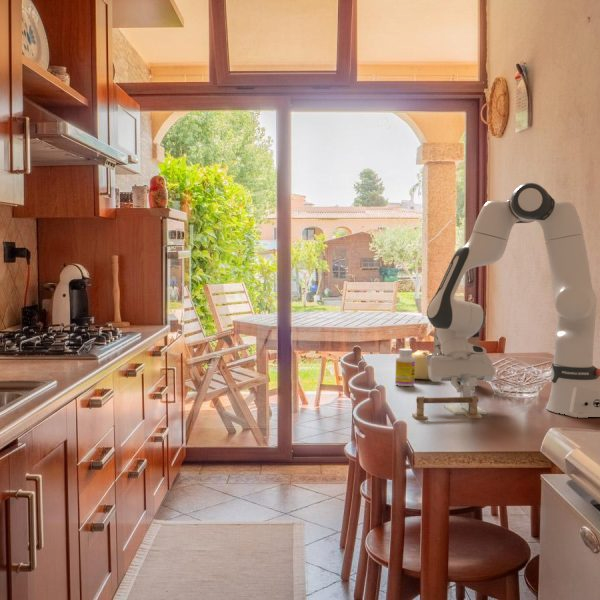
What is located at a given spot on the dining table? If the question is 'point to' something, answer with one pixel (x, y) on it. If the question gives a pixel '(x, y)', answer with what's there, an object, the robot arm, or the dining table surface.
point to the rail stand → (472, 400)
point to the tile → (462, 409)
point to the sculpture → (421, 364)
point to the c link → (467, 388)
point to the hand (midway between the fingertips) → (466, 391)
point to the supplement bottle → (405, 368)
